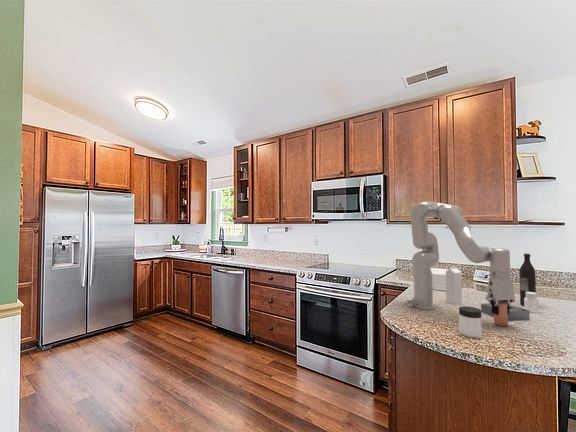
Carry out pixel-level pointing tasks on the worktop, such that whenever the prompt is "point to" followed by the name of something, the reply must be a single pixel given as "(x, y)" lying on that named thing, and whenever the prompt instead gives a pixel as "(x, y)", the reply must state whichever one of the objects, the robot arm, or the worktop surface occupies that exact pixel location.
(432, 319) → the worktop surface
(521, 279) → the wine bottle
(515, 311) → the bore housing
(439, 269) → the plate stack
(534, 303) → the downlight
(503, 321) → the orange grey-topped cylinder
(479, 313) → the jar
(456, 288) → the milk
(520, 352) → the worktop surface
